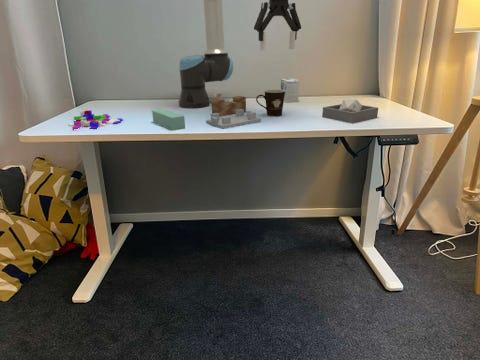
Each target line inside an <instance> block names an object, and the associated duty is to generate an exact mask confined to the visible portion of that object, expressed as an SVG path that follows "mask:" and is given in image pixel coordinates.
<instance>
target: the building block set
mask: <svg viewBox="0 0 480 360" xmlns="http://www.w3.org/2000/svg"><path fill="white" fill-rule="evenodd" d="M109 117H110V118H109ZM94 119H95V120H94ZM74 120H76V121H74ZM106 121H107V122H106ZM122 122H124V119H123V118H118V117H117V118H111V116H110V115H109V114H107V113H103V114H94V113H93V112H92V109H90V110H89V109H88V110H87V109H86V110H82V111H81V112H80V115H76V116H73V122H70V123H68V126H69V125H71V126H70V127H72V131H75V130H74V129H78V128H79V129H81V128H82V127H81V126H86V127H88V126H89V130H90V129H93V130H98V129H99V128H98V127H106V126H107V125H118V124H121V123H122ZM105 125H106V126H105ZM90 126H91V127H90ZM80 127H81V128H80ZM97 128H98V129H97ZM79 129H78V130H79Z"/></svg>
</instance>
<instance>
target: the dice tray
mask: <svg viewBox="0 0 480 360" xmlns="http://www.w3.org/2000/svg"><path fill="white" fill-rule="evenodd" d="M341 104H342V103H339V104H333V105H329V106H323V107H322V118H326V119H330V120H334V121H339V122H343V123H348V124H355V123H359V122H364V121H369V120H372V119H377V118H378V116H379V107H376V106H369V105H365V104H361V105H362V107H361V109H360V111H356V112H348V111H343V110H339V108H340V106H341Z"/></svg>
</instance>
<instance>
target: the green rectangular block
mask: <svg viewBox="0 0 480 360" xmlns="http://www.w3.org/2000/svg"><path fill="white" fill-rule="evenodd" d="M151 112H152V114H151V115H152V121H153V123H155V124H157V125H159V126H161V127H164V128H166V129H168V130H171V131H178V130H185V129H186V121H185V120H186V119H185V116H184V114H183V115H182V114H179V113H176V112H174V111H171V110H168V109H165V108H159V109H153V110H151Z"/></svg>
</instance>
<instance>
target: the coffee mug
mask: <svg viewBox="0 0 480 360" xmlns="http://www.w3.org/2000/svg"><path fill="white" fill-rule="evenodd" d="M284 95H285V91H284V90H281V89H266V90H264V94H259V95H256V98H255V101H256V103H257V104H258V105H259V106H261V107H262V108H264V109H265V110H266V115H267V116H268V117H280V116H282V115H283V109H284V103H285V102H284ZM260 97H263V98H264V100H265V106H264V105H263V104H261V103H260V102H259V100H258V99H259V98H260Z"/></svg>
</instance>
